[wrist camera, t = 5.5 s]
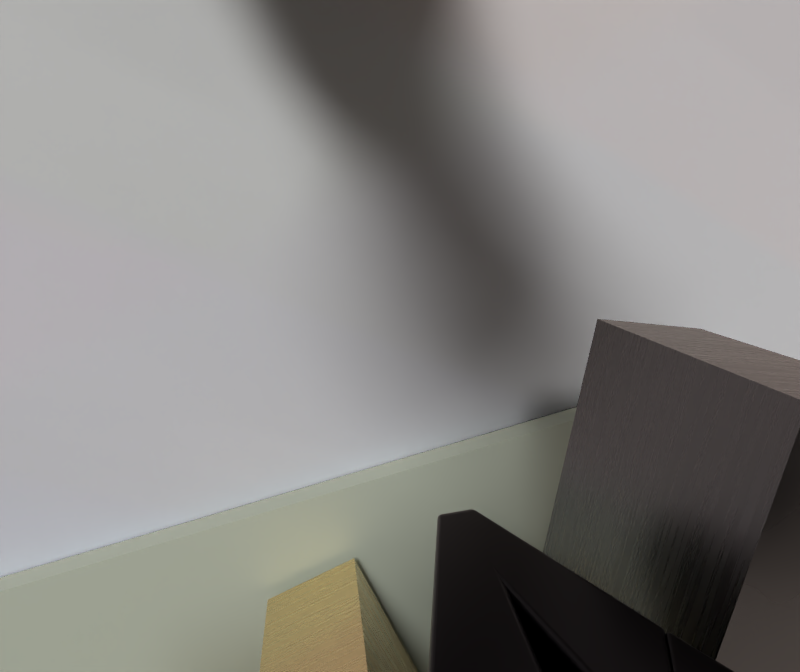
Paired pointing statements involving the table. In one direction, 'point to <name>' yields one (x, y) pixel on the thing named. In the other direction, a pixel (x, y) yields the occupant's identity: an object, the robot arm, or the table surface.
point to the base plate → (277, 561)
